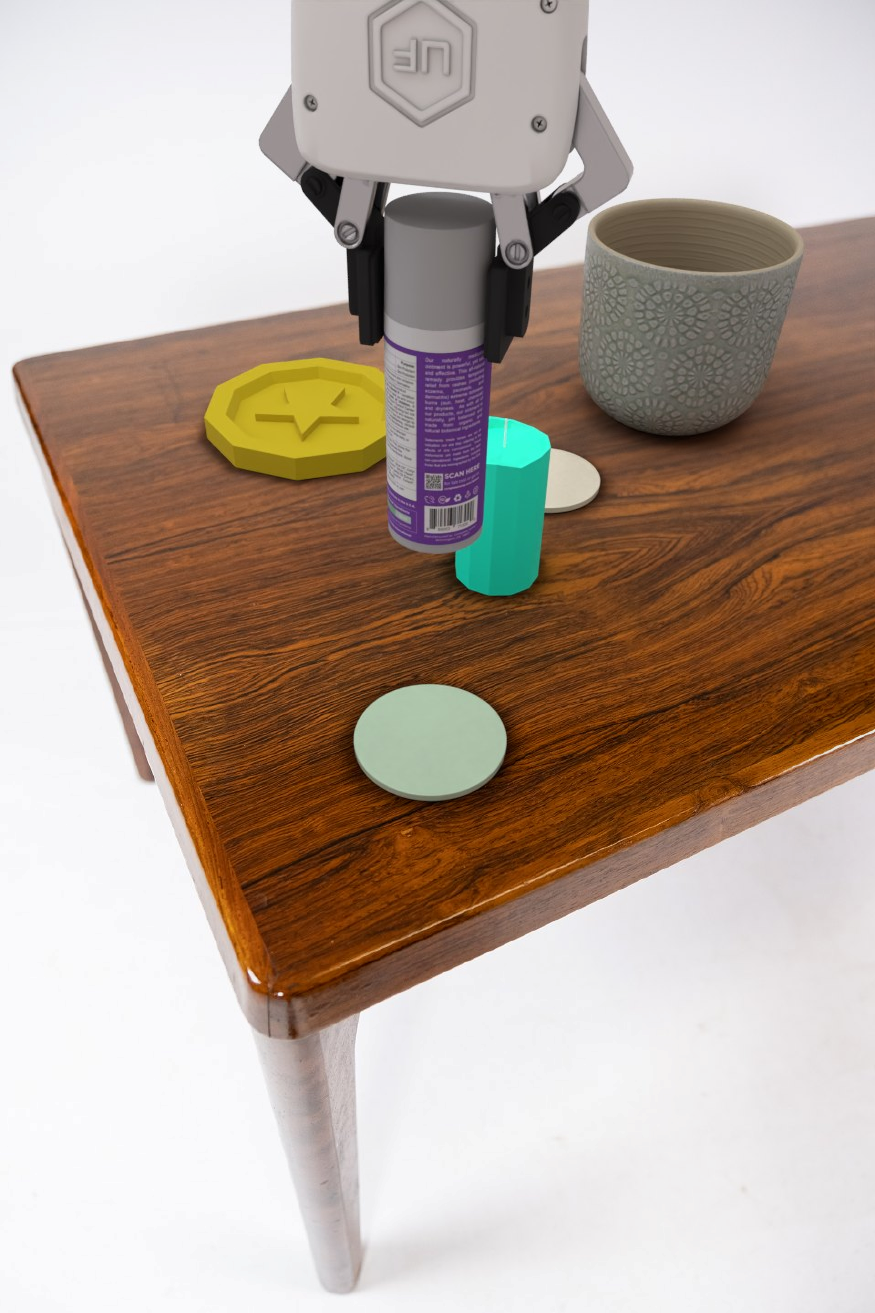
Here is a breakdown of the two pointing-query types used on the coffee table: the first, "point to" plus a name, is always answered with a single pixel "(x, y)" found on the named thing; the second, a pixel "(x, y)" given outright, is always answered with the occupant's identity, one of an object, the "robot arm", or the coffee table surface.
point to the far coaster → (570, 482)
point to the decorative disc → (301, 418)
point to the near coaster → (430, 742)
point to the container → (436, 367)
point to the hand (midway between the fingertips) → (438, 336)
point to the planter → (683, 310)
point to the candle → (509, 511)
